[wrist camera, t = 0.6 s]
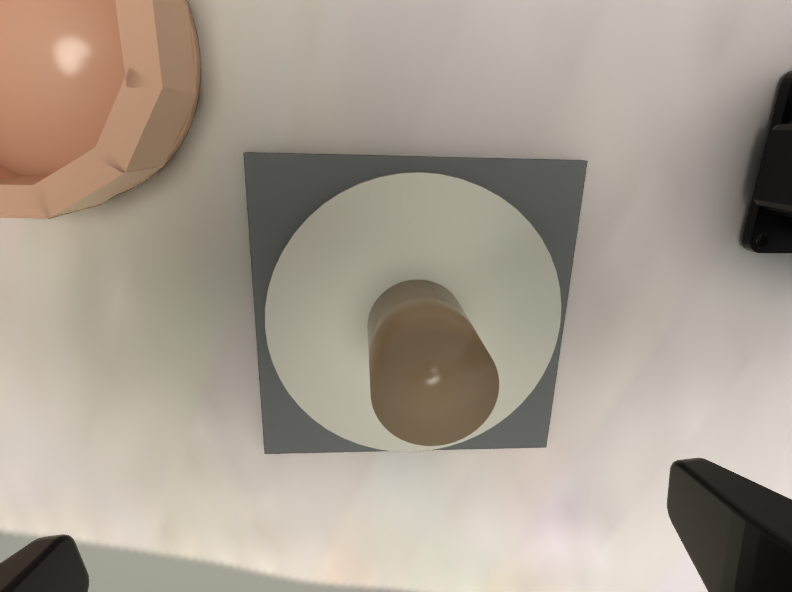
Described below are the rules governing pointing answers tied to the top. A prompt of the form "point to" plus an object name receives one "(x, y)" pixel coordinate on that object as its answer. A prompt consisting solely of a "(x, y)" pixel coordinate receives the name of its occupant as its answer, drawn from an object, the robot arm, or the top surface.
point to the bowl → (91, 99)
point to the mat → (331, 173)
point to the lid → (412, 312)
